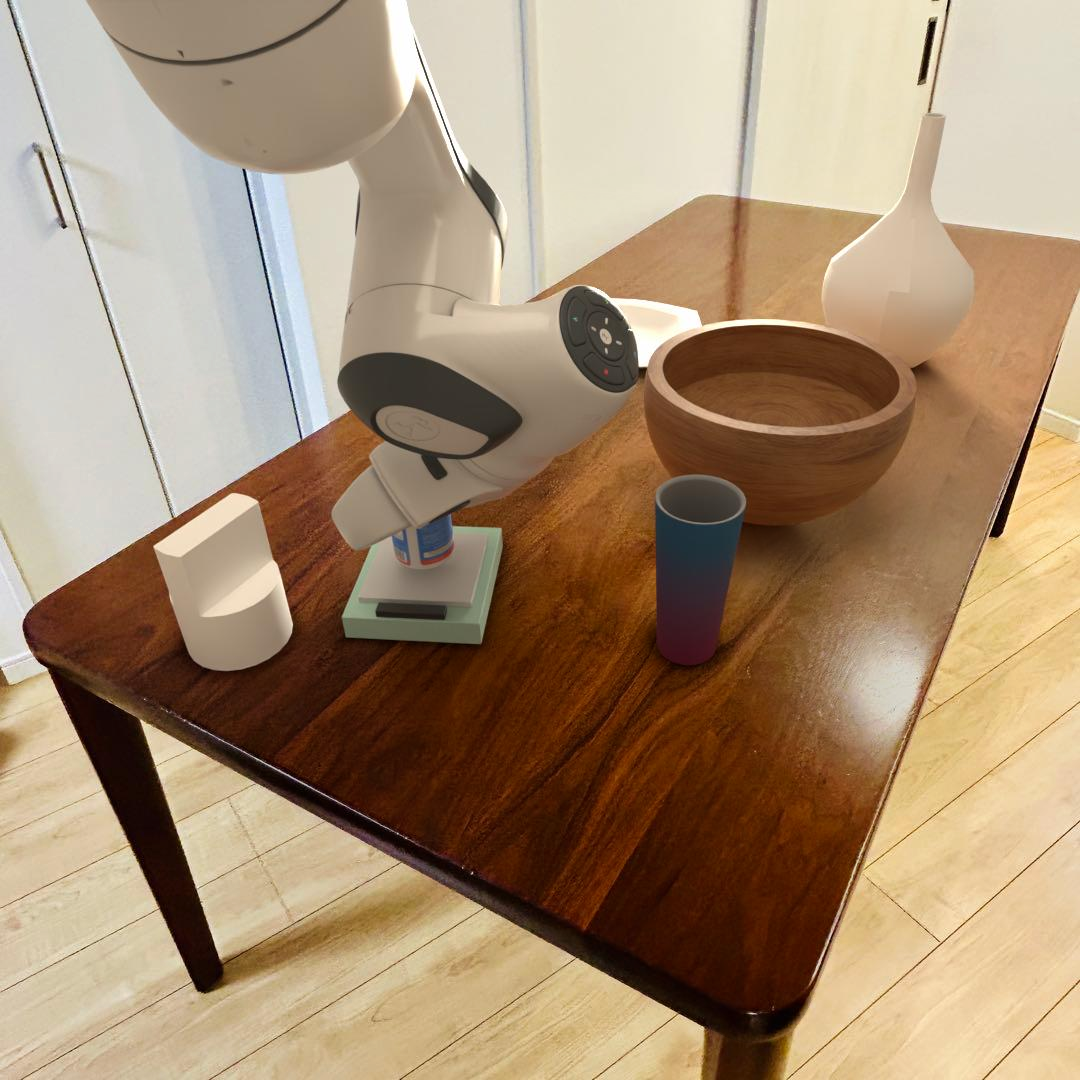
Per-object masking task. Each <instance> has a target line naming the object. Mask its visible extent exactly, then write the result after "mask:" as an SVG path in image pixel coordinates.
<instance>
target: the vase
mask: <svg viewBox="0 0 1080 1080" xmlns="http://www.w3.org/2000/svg"><path fill="white" fill-rule="evenodd" d="M920 117H921V118H920V120H919V121H920V122H919V124H918V130H917V134H916V137H915V138H916V139H915V143H914V146H913V152H912V155H911V159H910V163H909V167H908V173H907V176H906V182H905V187H904V190H903V192H902V194H901V196H900V198H899V199H898V201H897V202H896V203H895V205H894V206H893V207H892V209H890V211H888V212H886V214H885V215H884V216H883V217H882V218H880V219H879V220H877V222H876V223H875V224H874V225H872V226H871V227H870V228H868V230H867V231H865V232H864V233H863V234H862V235H860V236H859V237H858V238H856V239H855V240H854V241H852V242H851V243H849V244H848V245H846V247H844V248H843V249H842V250H840V251H839V252H837V254H835V255H834V256H833V257H832V258H831V259H830V262H829V265H828V267H827V269H826V272H825V274H824V276H823V277H824V278H823V281H822V289H821V295H820V298H821V304H822V310H823V317H824V321H825V326H828V327H832V328H836V329H840V330H844V331H847V332H850V333H853V334H856V335H859V336H862V337H864V338H867V339H869V340H871V341H874V342H876V343H878V344H880V345H882V346H883V347H885V348H887V349H888V350H890V351H892V352H893V353H894V354H896V355H897V356H898V357H900V358H901V359H902V360H903V361H904V362H905V363H906V364H907V365H908V367H909V368H910V369H913V368H916V367H917V366H919V365H921V364H923V363H924V362H926V361H928V360H929V359H931V358H933V357H934V356H936V354H937V353H939V352H940V351H941V350H942V349H943V348H944V347H946V345H948V344H949V342H950V341H951V339H952V338H953V337H954V335H955V334H956V332H957V331H958V329H959V328H960V326H961V325H962V323H963V322H964V320H965V319H966V317H967V316H968V315H969V313H970V310H971V307H972V304H973V301H974V297H975V271H974V270H973V267H971V265H970V264H969V263H968V261H967V260H966V259H965V257H964V256H963V254H962V253H961V252H960V250H959V249H958V248H957V246H956V245H955V243H954V241H953V240H952V238H951V237H950V235H949V234H948V232H947V230H946V228H945V227H944V225H943V224H942V222H941V221H940V219H939V217H938V216H937V214H936V212H935V209H934V206H933V202H932V188H933V187H932V186H933V182H934V180H935V179H934V178H935V173H936V169H937V164H938V159H939V155H940V149H941V144H942V138H943V133H944V129H945V123H946V119H947V115H946V114H944V113H939V112H925V113H922V114H921V116H920Z"/></svg>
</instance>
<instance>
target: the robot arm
mask: <svg viewBox="0 0 1080 1080" xmlns="http://www.w3.org/2000/svg"><path fill="white" fill-rule="evenodd" d="M85 2H86V3H87V5H88V6H89V8H90V10H91V11H92V13H93V14H94V16H95V18H96V19H97V21H98V23H99V24H100V25H101V27H102V29H103V30H104V31H105V33H106V35H107V36H108V38H109V39H110V41H111V42H112V44H113V46H114V48H115V50H117V52H118V54H119V56H120V57H121V58H122V59H123V61H124V62H125V65H126V66H127V68H128V69H129V70H130V72H131V74H132V76H133V77H134V78H135V80H136V81H137V82H138V84H139V85H140V87H141V89H142V90H143V91H144V92H145V94H146V96H148V98H149V99H150V101H151V102H152V103H153V105H155V106H156V109H158V110H159V111H160V113H161V114H162V115H163V116H164V117H165V118H166V119H167V121H168V122H169V123H171V125H172V126H173V127H174V128H175V129H176V130H177V131H178V132H179V133H180V134H182V136H184V137H185V139H187V140H188V141H189V142H190V143H191V144H192V145H194V146H195V147H196V148H197V149H198V150H200V151H201V152H202V153H204V154H205V155H207V156H209V157H211V158H213V159H215V160H218V161H220V162H223V163H225V164H227V165H230V166H233V167H236V168H240V169H244V170H246V171H250V172H255V173H261V174H267V175H278V176H279V175H300V174H308V173H309V174H310V173H313V172H318V171H323V170H326V169H330V168H332V167H335V166H338V165H340V164H343V163H345V162H347V163H348V164H349V166H350V168H351V170H352V171H353V173H354V175H355V177H356V179H357V181H358V186H359V188H358V194H357V201H356V213H355V226H354V227H355V228H354V238H355V240H354V241H355V242H354V249H353V257H352V264H351V272H350V279H349V289H348V294H347V295H348V297H347V304H346V311H345V316H344V323H343V330H342V337H341V338H342V339H341V345H340V346H341V347H340V354H339V355H340V356H339V366H338V374H337V375H338V376H337V380H336V382H337V383H336V384H337V389H338V392H339V394H340V396H341V398H342V400H343V401H344V403H345V404H346V405H347V407H348V409H349V410H350V411H351V412H352V413H353V414H354V416H355V417H356V418H357V419H358V420H359V421H360V422H361V423H362V424H363V425H365V427H367V428H368V429H369V430H370V431H372V432H373V433H374V434H376V435H377V436H378V437H379V438H381V439H382V440H384V441H383V442H381V443H380V444H378V445H377V446H376V447H374V448H373V450H372V451H371V452H370V453H369V456H368V459H369V461H370V463H371V465H370V466H368V467H367V468H365V470H364V471H362V472H361V473H360V474H359V475H358V476H357V477H356V478H355V479H354V480H353V482H352V483H351V484H350V485H349V486H348V488H347V489H346V490H345V491H344V492H343V494H342V495H341V496H340V497H339V499H338V500H337V501H336V502H335V504H334V505H333V507H332V509H331V519H332V522H333V524H334V525H335V528H337V531H338V532H339V534H340V535H341V537H342V538H343V539H344V541H345V542H346V543H347V545H348V547H350V548H351V549H352V550H353V551H356V552H361V551H363V550H367V549H368V548H369V549H370V548H371V546H373V545H375V544H377V543H379V542H381V541H383V540H385V539H387V538H389V537H390V536H392V535H394V534H396V533H398V532H400V531H402V530H404V529H406V528H408V527H410V526H413V527H414V528H416V529H420V528H422V527H424V526H426V525H428V524H429V523H430V524H432V523H434V522H436V521H437V520H439V519H441V518H443V517H445V516H447V515H450V514H451V515H452V514H454V513H457V512H459V511H460V510H463V509H466V508H471V507H475V506H479V505H482V504H486V503H487V502H494V501H498V500H501V499H504V498H506V497H508V496H509V495H511V494H513V493H514V492H515V491H516V490H518V489H519V488H521V487H522V486H523V485H525V484H526V483H528V482H529V481H531V480H532V479H533V478H535V477H536V476H538V475H539V474H541V473H542V472H543V471H544V470H545V469H546V468H547V467H549V465H550V464H552V462H553V460H554V459H555V458H556V457H561V456H563V455H565V454H567V453H570V452H571V451H572V450H574V449H575V448H577V447H578V446H580V445H581V444H583V443H584V442H585V441H586V440H588V439H589V438H591V437H592V436H593V435H595V434H596V433H597V432H598V431H600V430H601V429H602V428H603V427H604V426H605V425H606V424H608V423H609V422H610V421H611V420H612V419H613V418H614V417H615V416H616V415H617V414H618V413H619V411H620V410H622V408H623V407H624V406H625V404H626V403H627V401H628V400H629V399H630V398H631V396H632V394H633V392H634V390H635V389H636V387H637V384H638V381H639V372H640V368H639V359H638V348H637V343H636V339H635V336H634V333H633V330H632V328H631V326H630V324H629V321H628V320H627V318H626V316H625V315H624V313H623V312H622V311H621V309H620V308H619V307H618V306H617V304H616V303H615V302H614V301H613V300H612V299H611V298H612V297H610V296H608V295H607V294H606V293H605V292H604V291H601V290H600V289H597V288H596V287H593V286H590V285H587V284H575V285H571V286H569V287H566V288H563V289H562V290H559V291H557V292H556V293H554V294H552V295H551V296H548V297H546V298H544V299H540V300H537V301H530V302H523V303H513V304H512V303H511V304H500V300H501V299H500V298H501V297H500V296H501V280H502V269H503V266H504V260H505V251H506V246H507V245H506V244H507V239H508V238H507V237H508V231H509V223H508V217H507V213H506V210H505V208H504V205H503V203H502V201H501V199H500V197H499V196H498V194H497V193H496V192H495V190H494V189H493V188H492V187H491V185H490V184H489V183H488V182H487V180H486V179H485V178H484V177H483V176H482V175H481V174H480V172H479V171H478V170H477V169H476V168H475V166H473V164H472V163H471V162H470V160H468V158H467V157H466V155H465V154H464V152H463V151H462V149H461V148H460V146H459V144H458V142H457V141H456V138H455V136H454V134H453V131H452V129H451V126H450V123H449V120H448V118H447V115H446V112H445V109H444V106H443V104H442V101H441V98H440V96H439V93H438V90H437V88H436V86H435V85H436V84H435V83H434V80H433V77H432V74H431V71H430V68H429V66H428V64H427V61H426V58H425V55H424V53H423V49H422V47H421V45H420V43H419V40H418V37H417V35H416V32H415V29H414V27H413V25H412V22H411V20H410V15H409V10H408V5H407V4H408V3H407V0H85Z"/></svg>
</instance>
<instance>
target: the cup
mask: <svg viewBox="0 0 1080 1080" xmlns="http://www.w3.org/2000/svg"><path fill="white" fill-rule="evenodd" d="M745 507H746V498H745V496H744V494H743V492H742V491H741V490H740V489H739V488H738V487H736V486H735V485H734V484H732V483H730V482H728V481H726V480H723V479H721V478H717V477H713V476H707V475H684V476H679V477H676V478H670V479H668V480H666V481H664V482H663V483H662V484H660V485H659V487H658V488H657V489H656V491H655V493H654V519H655V520H654V521H655V524H654V526H655V601H656V602H655V606H656V607H655V610H656V611H655V613H656V615H655V616H656V647H657V649H658V652H659V653H660V654H661V655H662V656H663V657H664V658H665V659H667V660H668V661H670V662H671V663H675V664H677V665H683V666H696V665H700V664H703V663H705V662H707V661H709V660H710V659H711V658H713V657H714V655H715V653H716V650H717V646H718V642H719V641H718V640H719V636H720V631H721V627H722V623H723V622H722V621H723V617H724V613H725V608H726V602H727V597H728V594H729V589H730V584H731V578H732V574H733V569H734V564H735V560H736V555H737V550H738V544H739V540H740V537H741V536H740V535H741V531H742V526H743V523H744V522H743V517H744V512H745Z"/></svg>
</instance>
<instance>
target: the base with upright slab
mask: <svg viewBox="0 0 1080 1080" xmlns="http://www.w3.org/2000/svg"><path fill="white" fill-rule="evenodd" d="M153 550H154V552H155V556H156V558H157V561H158V564H159V567H160V570H161V572H162V576H163V578H164V581H165V584H166V587H167V590H168V595H169V601H170V604H171V606H172V609H173V612H174V615H175V617H176V618H175V619H176V621H177V623H178V627H179V629H180V632H181V635H182V638H183V641H184V643H185V647H186V649H187V652H188V655H189V656H190V657H191V659H192V660H193V661H194V662H195V663H196V664H198V665H199V666H201V667H202V668H204V669H205V668H206V669H209V670H212V671H221V672H231V671H238V670H239V671H240V670H244V669H247V668H248V669H249V668H251V667H254V666H255V667H256V666H257V665H260V664H262V663H263V662H265V661H268V660H270V659H271V658H272V657H274V656H275V655H277V654H278V653H279V652H280V651H281V650H282V649H283V648H284V647H285V646H286V645H287V644H288V642H289V641H290V638H291V636H292V634H293V627H294V624H293V620H292V615H291V611H290V608H289V603H288V599H287V595H286V592H285V591H286V590H285V588H284V583H283V579H282V575H281V571H280V568H279V565H278V563H277V561H275V560H274V557H273V554H272V550H271V545H270V542H269V538H268V534H267V530H266V525H265V522H264V518H263V515H262V510H261V506H260V502H259V501H258V500H257V499H255V498H254V497H252V496H249V495H247V494H246V495H245V494H241V493H237V492H231V493H230V494H228V495H227V496H225V497H223V498H222V499H221V500H219V501H218V502H217V503H215V504H213V505H212V506H210V507H209V508H207V509H206V510H205V511H203V512H201V513H200V514H199V515H197V516H196V517H195V518H193V519H191V520H190V521H188V522H186V524H184V525H182V526H181V527H179V528H178V529H176V530H175V531H173V532H172V533H170V534H169V535H167V536H166V537H165V538H163V539H161V540H160V541H159V542H157V543H156V544H154V545H153Z"/></svg>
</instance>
